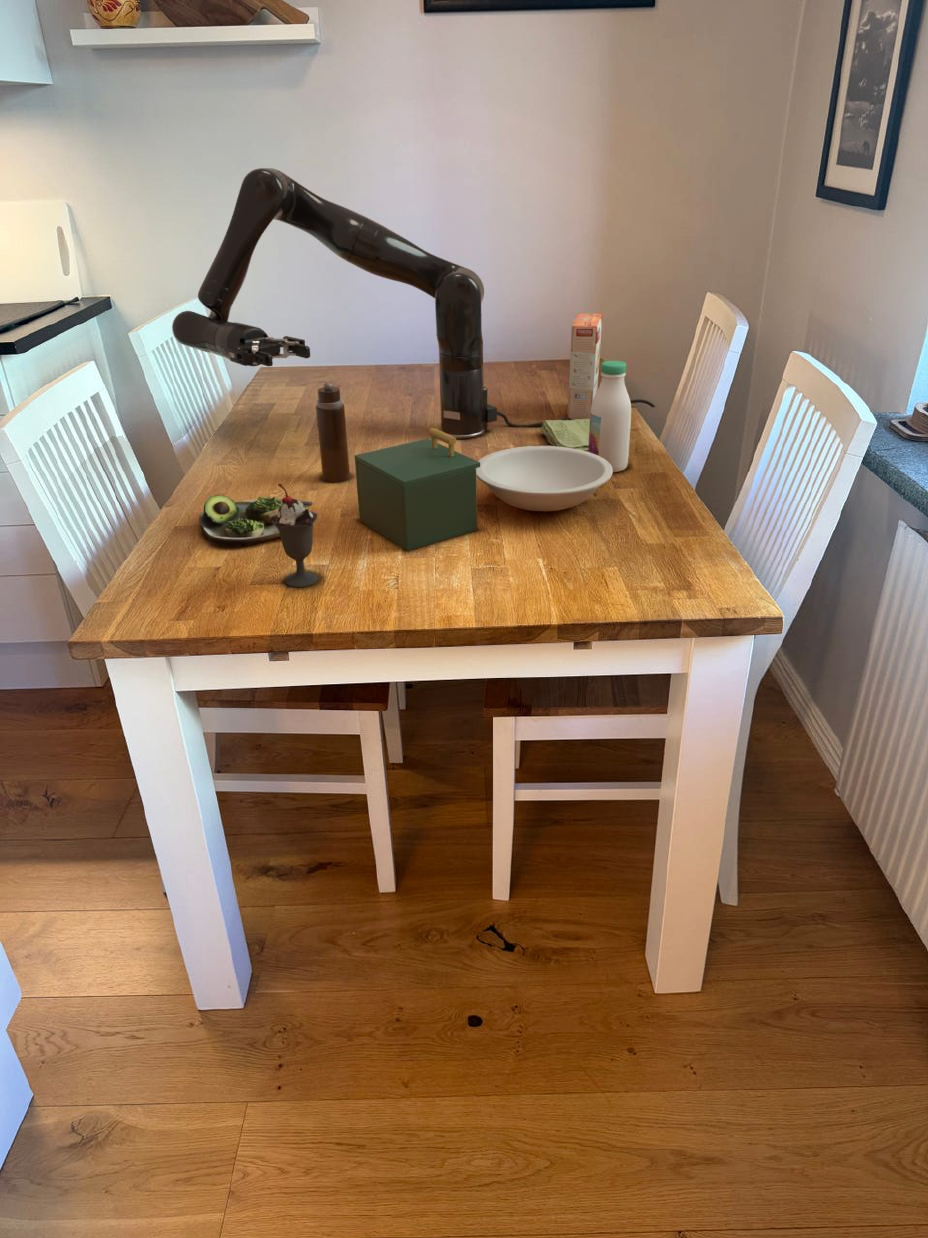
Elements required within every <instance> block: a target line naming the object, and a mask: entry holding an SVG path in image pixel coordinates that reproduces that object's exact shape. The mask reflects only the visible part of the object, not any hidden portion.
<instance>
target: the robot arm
mask: <svg viewBox="0 0 928 1238" xmlns="http://www.w3.org/2000/svg"><path fill="white" fill-rule="evenodd" d="M238 191H239V192H238V195H237V198H236V202H235V204H234V209H233V212H232V216H231V218H230V220H229V221H230V222H229V224H228V227H227V229H226V232H225V235H224V237H223V240H222V241H221V244H220V246H219V249H218V250H217V252H216V255H215V257H214V259H213V261H212V262H211V264H210V267H209V268H208V271H207V272H206V275H205V277H204V279H203V281H202V283H201V285H200V287H199V288H198V292H197V299H198V301H199V303H200V304H202V305H203V306H204V307H205V308H207V309H208V310H210V311H209V312H210V313H209V315H208V316H207V315H204V314H201V313H199V312H195V311H192V310H184V311H181V312H179V313H178V314H177V315H176V316H175V317H174V319H173V321H172V324H171V330H172V335H173V336H174V338H175V340H176V341H177V342H178V343H179V344H180V345H183V346H185V347H189V348H192V349H196V350H198V351H201V352H204V353H209V354H211V353H212V354H214V355H216V356H220V357H223V358H225V359H227V360H229V362H232V363H236V364H238V365H242V366H245V367H247V366H249V367H258V366H260V365H261V366H266V367H272V366H273V365H274V363H273V360H274V359H287V358H288V357H293V356H294V357H295V356H296V357H299V358H302V359H309V358H311V347H310V346H308V345H306V340H305V339H302V338H297V337H293V336H288V335H285V336H283V337H282V338H274V337H272V336H269V335H268V333H266V332H265V331H264V330H263V329H262V328H261V327H258V326H255V325H250V324H245V323H241V322H235V321H233V322H232V321H229V318H230V313H231V309H232V306H233V305H234V303H235V301H236V299H237V297H238V295H239V293H240V291H241V289H242V287H243V284H244V282H245V280H246V277H247V274H248V271H249V268H250V264H251V261H252V257H253V254H254V252H255V249H256V247H257V245H258V243H259V241H260V239H261V238H262V236H263V234H264V233H265V231H266V230H267V228H269V226H270V225H271V223H272V222H273V220H276V221H279V222H281V223H284V224H287V225H290V226H291V227H294V228H297V229H298V230H301V231H302V232H305V233H307V234H309V235H310V236H311V237H314V239H316V240H318V242H319V243H321V244H322V245H323V246H325V247H326V249H328V250H330V251H331V252H332V253H333V254H335V255H336V256H337V257H339V258H340V259H342V260H344V261H346V262H347V263H350V264H351V265H353V266H355V267H357V268H359V269H361V270H362V271H365V272H367V273H369V274H372V275H374V276H377V277H380V278H383V279H387V280H390V281H394V282H398V283H401V284H406V285H409V286H412V287H414V288H416V289H418V290H420V291H421V292H423V293H425V294H426V295H428V296H430V297H431V298H433V299H434V307H435V309H434V310H435V325H436V326H435V328H436V329H435V330H436V339H437V344H438V368H439V369H438V370H439V371H438V372H439V402H440V405H439V406H440V431H442V432H444V433H446V434H449V435H451V436H453V437H455V438H456V439H471V438H477V437H480V436H482V435H483V434H485V433H486V432H488V431H489V429H488V428H489V427H488V426H489V425H488V424H490V423H494V422H497V421H498V416H500V417H502V418H503V420H504V422H505V424H506V425H507V426H509V427H512V428H537V427H542V425H543V423H544V421H541V422H535V423H529V424H515V423H513V422H511V421H509V419H508V417H507V416H506V414H504V413H503V412H500V411H498V407H497V406H494V405H491V404H489V403H488V388H487V387H486V386H485V385H484V338H483V329H482V328H483V327H482V302H483V300H484V297H485V287H484V283H483V281H482V279H481V278H480V276H479V275H478V274H477V273H476V272H475V271H474V270H472V269H470V268H467V267H465V266H462V265H459V264H457V263H454V262H452V261H449V260H446V259H444V258H441V257H439V256H436V255H435V254H433V253H430V252H428V251H426V250H424V249H423V248H421V247H420V246H418V245H416V244H415V243H414V242H412V241H410V240H409V239H407V238H405V237H403V236H401V235H400V234H398V233H396V232H395V231H393V230H391V229H389V228H388V227H386V226H384V225H382V224H380V223H379V222H377V221H375V220H373V219H371V218H369V217H367V216H364V215H362V214H361V213H358V212H357V211H354V210H352V209H349V208H347V207H345V206H343V205H340V204H337V203H335V202H332V201H329V200H328V199H325V198H323V197H321V196H319V195H317V194H316V193H314V192H313V191H311V190H310V189H308V188H307V187H305V186H303V184H301V183H299V182H297V180H295V179H294V178H292V177H291V176H289V175H287V174H286V173H284V172H283V171H281V170H278V169H277V168H273V167H260V168H256V169H253V170H250V171H249V172H248V173H247V174H246V175H245V176H244V177H243V179H242V181H241V185H240V188H239V190H238ZM281 348H282V351H283V353H281ZM630 402H631V404H637V403H641V404H642V403H643V404H646V405H648V406H650V407H651V408H656V405H655V404H654V403H652V402H651V401H649V400H646V399H639V398H638V399H630ZM561 420H562V421H563V420H564V421H566V420H571V418H567V417H566V418H562V419H561Z"/></svg>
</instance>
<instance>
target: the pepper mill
mask: <svg viewBox="0 0 928 1238" xmlns="http://www.w3.org/2000/svg"><path fill="white" fill-rule="evenodd" d="M317 397H318V398H317V400H316V405H315V413H316V424H317V435H318V445H319V452H320V453H319V454H320V455H319V456H320V464H321V466H320V467H321V473H322V480H323V481H325V482H327V483H342V482H345V481H348V480H349V479H350V478H351V473H350V472H351V471H350V459H349V446H348V437H347V436H348V435H347V423H346V422H347V421H346V411H345V404H344V402H343V399H342V398H341V390H340V388H339V387H337V386H334V385H333V383H331V382H330V381H326V382H325V383H324V384H323V387H319V388H318V389H317Z"/></svg>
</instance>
